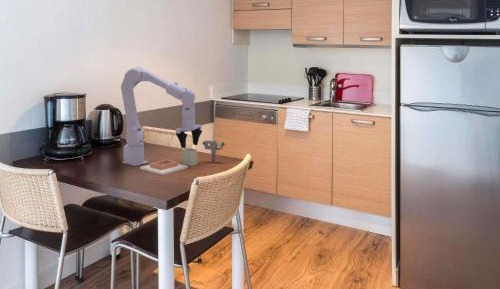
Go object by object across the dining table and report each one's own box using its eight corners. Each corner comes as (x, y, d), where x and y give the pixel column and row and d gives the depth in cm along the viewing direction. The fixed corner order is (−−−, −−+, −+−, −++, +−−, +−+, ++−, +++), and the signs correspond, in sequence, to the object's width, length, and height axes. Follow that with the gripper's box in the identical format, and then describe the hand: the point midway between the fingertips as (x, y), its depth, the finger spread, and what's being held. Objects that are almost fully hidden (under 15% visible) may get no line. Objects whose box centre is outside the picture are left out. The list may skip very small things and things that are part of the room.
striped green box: (182, 163, 211) (181, 149, 210) (188, 162, 214) (187, 147, 213) (191, 166, 207) (190, 150, 206) (197, 164, 211) (197, 149, 209)
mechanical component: (223, 163, 212) (223, 142, 210) (202, 162, 214) (202, 141, 212) (225, 161, 215) (224, 141, 213) (204, 160, 217) (204, 140, 215)
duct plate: (139, 169, 201) (139, 163, 201) (165, 162, 213) (165, 156, 212) (162, 175, 192) (162, 168, 192) (187, 168, 204) (187, 162, 203)
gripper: (183, 120, 198) (184, 150, 201) (206, 116, 209) (206, 144, 212) (172, 118, 202) (173, 148, 205) (195, 114, 214) (195, 143, 216)
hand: (189, 146), depth 209 cm, fingers open, 7 cm apart
